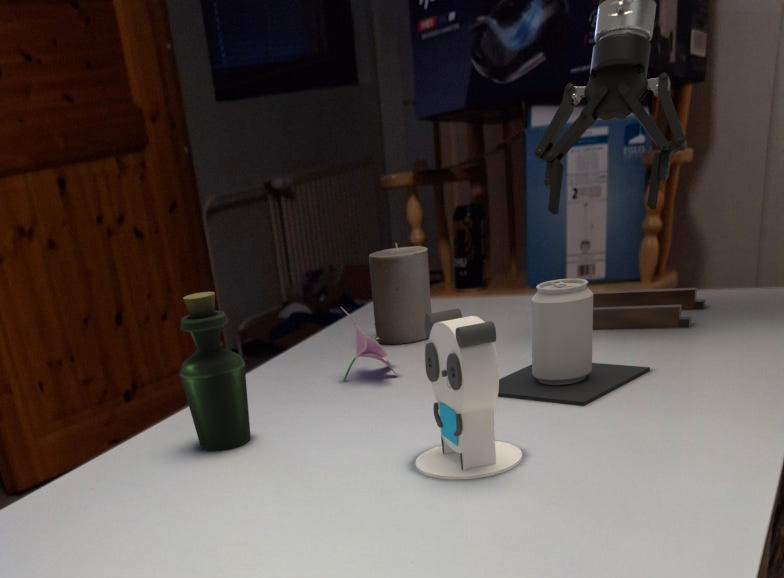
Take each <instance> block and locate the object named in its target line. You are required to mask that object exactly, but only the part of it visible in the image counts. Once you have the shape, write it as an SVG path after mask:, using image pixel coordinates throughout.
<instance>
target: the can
mask: <svg viewBox="0 0 784 578" xmlns="http://www.w3.org/2000/svg"><path fill="white" fill-rule="evenodd" d="M588 284H589V281H588V280H587V279H585V278H561V279H553V280H552V279H551V280H546V281H544V282H541V283H538V284H537V285H536V287H535V288H536V289H537V290H536V292H535V294H534V295H533V296H532V298H530V299H531V300H530V306H531V307H530V310H531V311H530V314H531V315H530V318H531V319H530V320H531V322H530V323H531V365H532V374H533V376H534V377H535V378H537V379H538V380H539V382H541V383H543V384H549V385H563V384H571V383H575V382H579V381H581V380H583V379H585V377H586V376H587V375H588V374H589V373H590V372H591V370H592V363H593V338H594V337H593V332H594V331H593V330H594V329H593V292H594V291H592V290H591V289H590V287H588Z"/></svg>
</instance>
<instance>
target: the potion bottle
mask: <svg viewBox="0 0 784 578" xmlns="http://www.w3.org/2000/svg"><path fill="white" fill-rule="evenodd" d="M182 299H183V302H184V304H185V307H186V309H187V312H188V315H185V316H183V317H181V320H180V328H179V329H180V331H184V332H188V333H189V335H190V337H191V339H192V341H193V344H194V346H195V348H196V351H194V352H193V353H192V354H191V355H190V356H189V357H188V358H187V359H186V360H184V361H183V362H182V365H181V367H180V371H179V377H180V381H181V384H182V387H183V391H184V394H185V397H186V401H187V405H188V407H189V411H190V414H191V415H190V416H191V419H192V421H193V425H194V429H195V431H196V435H197V439H198V443H199V446H200V447H202V448H203V449H204V450H208V451H226V450H231V449H235V448H239V447H241V446H243V445H245V444H247V443H248V442H249V441H250V439H251V423H250V412H249V399H248V398H249V397H248V387H247V386H248V385H247V375H246V364H245V363H246V362H245V360H244V359H243V357H242V356H241V354H239V353H237V352H235V351H232V350H229V349H228V348H225V347H223V346H221V333H222V332H221V330H222V327H224V326H225V325H226V324H228V323H229V318H228V316H227V315H226V313H225V311H223V310H216V308H215V307H216V301H215V300H216V293H215V292H214V291H202V292H195V293H191V294H189V295H185V296H183V297H182Z"/></svg>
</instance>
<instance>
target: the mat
mask: <svg viewBox="0 0 784 578" xmlns="http://www.w3.org/2000/svg"><path fill="white" fill-rule="evenodd" d="M649 372H651V367H650V366H640V365H639V366H638V365H626V364H625V365H624V364H613V363H612V364H611V363H599V362H592V370H591V372H590V373H589V374H588V375H587V376H586V377H585V379H583V380H581V381H579V382H575V383H571V384H563V385H549V384H543V383H541V382H539V380H538V379H537V378H535V377H534V376H533V374H532V364H530V365H528V366H526V367H523V368H521V369H519V370H517V371H514V372H511V373H510V374H507V375H506V376H503V377H501V378H499V391H498V397H500V398H501V397H502V398H508V399H518V400H526V401H535V402H544V403H545V402H546V403H552V404H553V403H555V404H563V405H572V406H580V407H584V406H587V405H589V404H590V403H592V402H594V401H596V400H597V399H600V398H602V397H603V396H605V395H607V394H609V393H611V392H613V391H614V390H617V389H619V388H621V387H622V386H624V385H626V384H628V383H630V382H632V381H634V380H636V379H638V378H640V377H641V376H643V375H645V374H647V373H649Z"/></svg>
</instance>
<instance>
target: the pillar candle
mask: <svg viewBox="0 0 784 578" xmlns="http://www.w3.org/2000/svg"><path fill="white" fill-rule="evenodd" d="M394 245H395V247H394V248H386V249H382V250H379V251H375V252H372V253H370V254H369V255H368V261H369V263H368V265H369V275H370V276H369V278H370V284H371V285H370V286H371V287H370V288H371V296H372V306H373V307H372V308H373V317H374V328H375V339H376V338H377V337H379V338H380V339H378V338H377V340H376V341H379V342H378V343H379V344H383V345H402V344H410V343H415V342H419V341H423V340H426V339H429V338H428V337H427V336H426V332H425V316H426V314H429V313H432V301H431V285H430V270H429V253H428V250H429V248H428V247H425V246H420V245H417V246H403V247H402V246H401V247H398V246H399V245H398V243H397V242H395V243H394Z"/></svg>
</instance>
